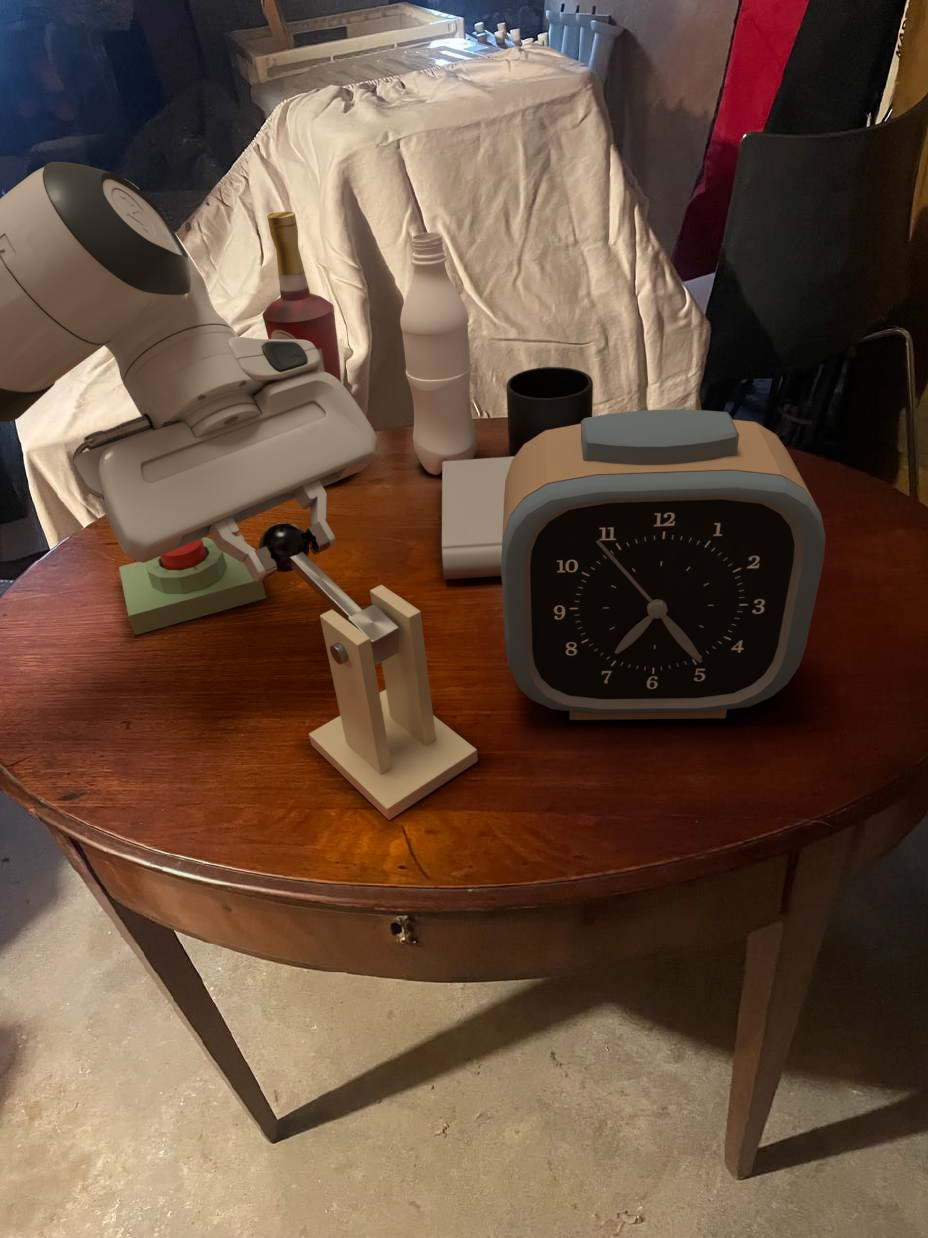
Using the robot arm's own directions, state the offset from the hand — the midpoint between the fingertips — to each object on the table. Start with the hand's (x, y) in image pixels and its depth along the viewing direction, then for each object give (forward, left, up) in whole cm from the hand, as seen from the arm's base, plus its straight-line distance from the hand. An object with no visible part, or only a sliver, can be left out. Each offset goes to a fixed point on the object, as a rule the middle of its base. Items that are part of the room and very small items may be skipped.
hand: (297, 561), depth 63 cm
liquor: (+11, +37, -13) cm, 41 cm away
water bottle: (+24, +32, -13) cm, 42 cm away
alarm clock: (+23, -11, -13) cm, 28 cm away
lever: (+1, -3, -2) cm, 4 cm away
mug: (+35, +29, -13) cm, 47 cm away
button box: (-7, +20, -13) cm, 25 cm away
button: (-7, +20, -9) cm, 23 cm away
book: (+29, +13, -13) cm, 34 cm away
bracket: (+3, -9, -13) cm, 16 cm away
